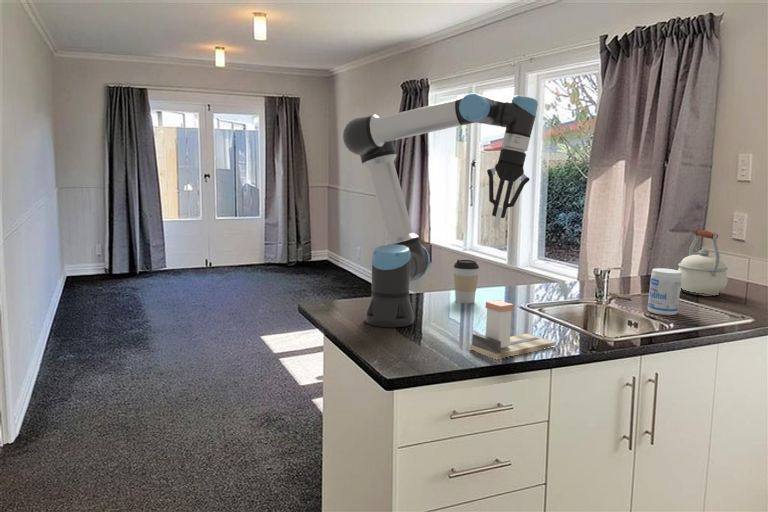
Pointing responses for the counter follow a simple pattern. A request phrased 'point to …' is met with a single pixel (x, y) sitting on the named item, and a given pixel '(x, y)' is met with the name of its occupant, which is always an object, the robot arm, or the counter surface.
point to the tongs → (619, 296)
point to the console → (517, 346)
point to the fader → (499, 321)
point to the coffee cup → (465, 280)
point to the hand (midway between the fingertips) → (495, 227)
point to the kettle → (703, 268)
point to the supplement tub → (664, 291)
